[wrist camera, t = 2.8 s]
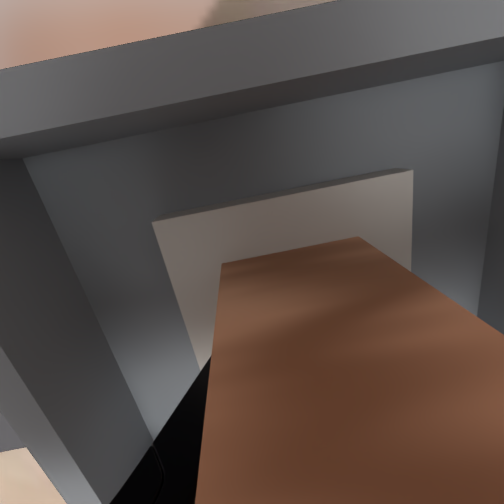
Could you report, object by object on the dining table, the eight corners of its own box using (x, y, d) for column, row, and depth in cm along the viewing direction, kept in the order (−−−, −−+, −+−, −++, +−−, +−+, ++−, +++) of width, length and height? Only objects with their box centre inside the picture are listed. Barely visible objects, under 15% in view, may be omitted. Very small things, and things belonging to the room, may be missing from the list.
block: (358, 236, 9) (733, 490, 2) (364, 347, 10) (590, 687, 4) (221, 263, 9) (184, 594, 2) (248, 369, 10) (272, 747, 4)
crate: (531, 19, 8) (779, -92, 4) (478, 386, 14) (571, 476, 10) (-14, 130, 8) (-214, 114, 5) (144, 451, 14) (110, 564, 10)
